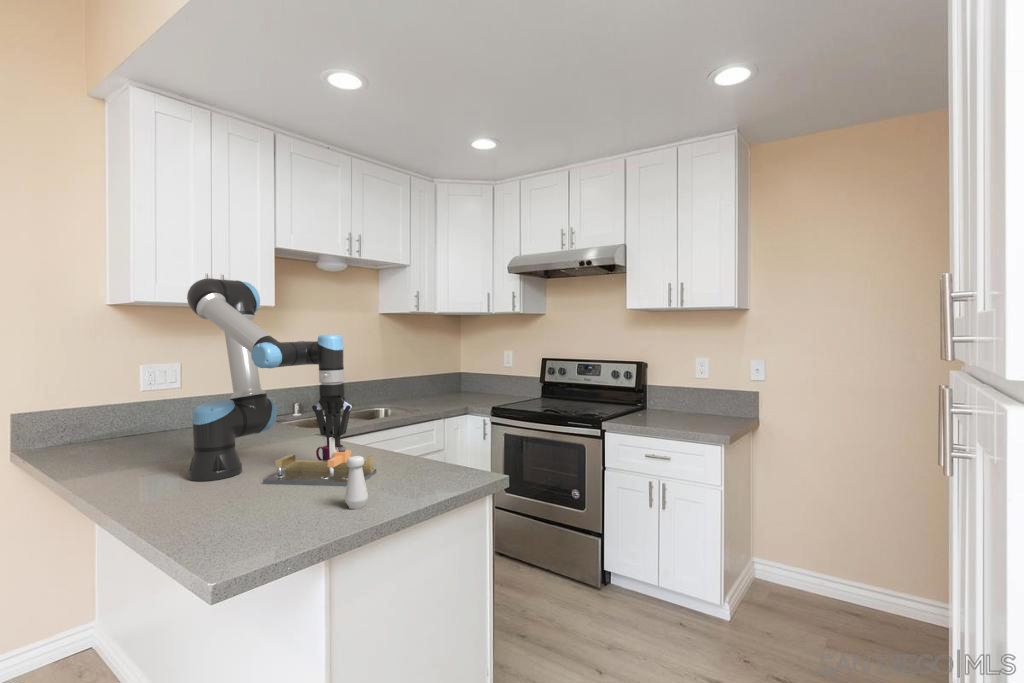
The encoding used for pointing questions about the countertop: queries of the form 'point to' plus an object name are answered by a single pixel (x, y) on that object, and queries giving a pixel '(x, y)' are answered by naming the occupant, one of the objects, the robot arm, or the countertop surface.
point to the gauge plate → (312, 478)
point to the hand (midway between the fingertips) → (334, 457)
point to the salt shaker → (356, 483)
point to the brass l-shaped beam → (318, 465)
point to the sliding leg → (338, 459)
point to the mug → (325, 453)
